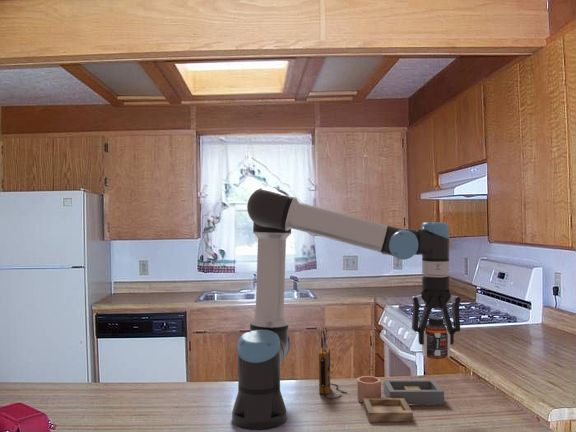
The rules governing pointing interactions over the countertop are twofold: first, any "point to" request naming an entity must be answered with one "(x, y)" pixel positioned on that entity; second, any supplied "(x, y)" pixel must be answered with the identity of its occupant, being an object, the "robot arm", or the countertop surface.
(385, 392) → the tray
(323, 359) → the multimeter
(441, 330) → the supplement bottle
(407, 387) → the pad
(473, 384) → the countertop surface
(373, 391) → the empty cup
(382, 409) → the square wooden tray
